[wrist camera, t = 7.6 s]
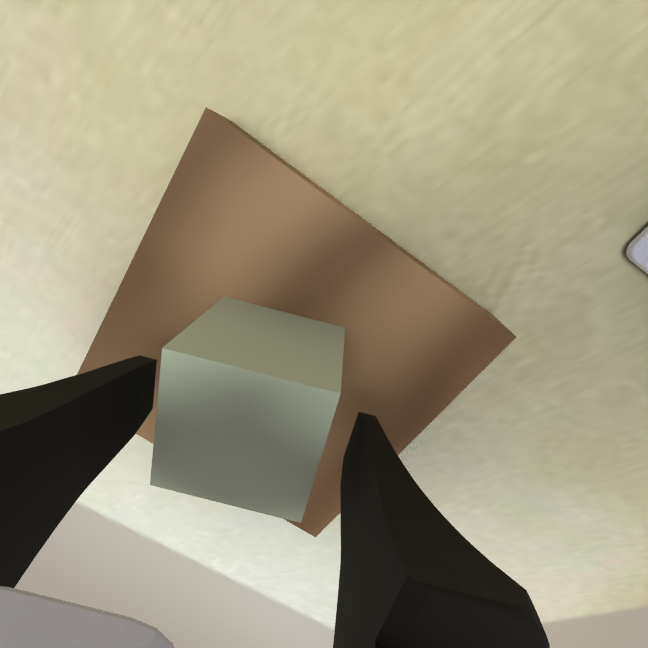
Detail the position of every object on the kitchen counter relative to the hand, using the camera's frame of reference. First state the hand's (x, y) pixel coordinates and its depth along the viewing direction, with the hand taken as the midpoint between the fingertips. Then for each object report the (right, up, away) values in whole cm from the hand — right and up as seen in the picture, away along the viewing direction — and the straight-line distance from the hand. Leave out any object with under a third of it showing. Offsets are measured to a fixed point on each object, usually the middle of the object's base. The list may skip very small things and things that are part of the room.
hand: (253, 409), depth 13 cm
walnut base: (0, +2, +5) cm, 6 cm away
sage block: (0, +1, +3) cm, 3 cm away
